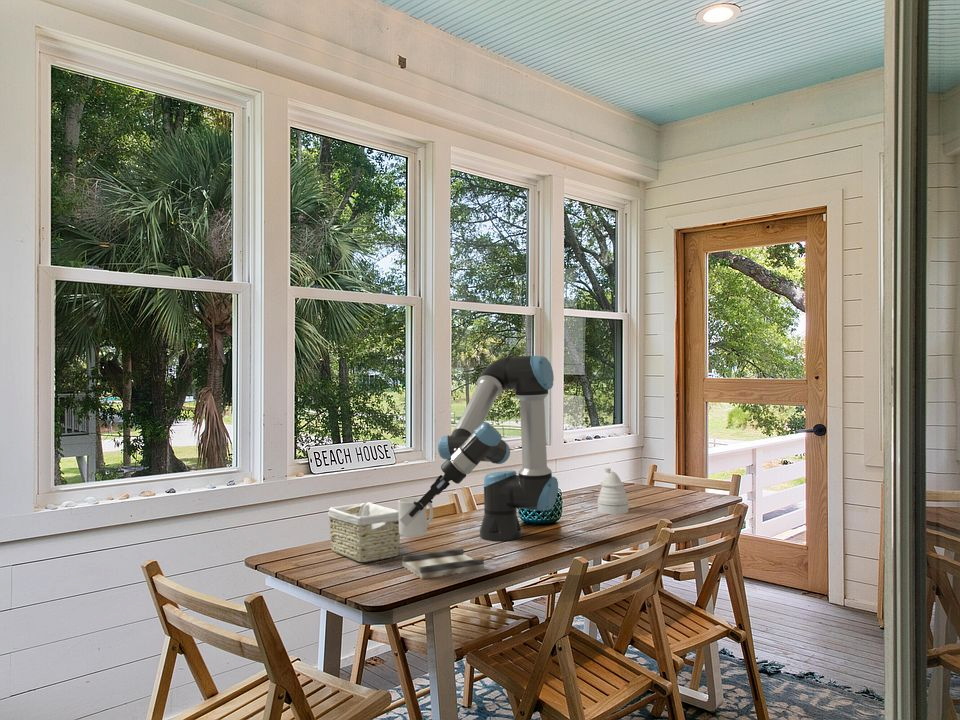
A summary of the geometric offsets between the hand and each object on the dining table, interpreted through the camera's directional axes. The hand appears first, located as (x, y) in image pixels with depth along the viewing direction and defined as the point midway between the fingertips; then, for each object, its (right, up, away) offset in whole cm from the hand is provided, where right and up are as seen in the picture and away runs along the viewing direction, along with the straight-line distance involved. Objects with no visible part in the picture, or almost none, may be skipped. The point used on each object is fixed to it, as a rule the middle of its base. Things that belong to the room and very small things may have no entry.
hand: (407, 519), depth 207 cm
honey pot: (+78, -17, +87) cm, 118 cm away
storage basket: (-16, -16, +20) cm, 30 cm away
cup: (+3, -4, 0) cm, 5 cm away
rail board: (+11, -15, +2) cm, 18 cm away
